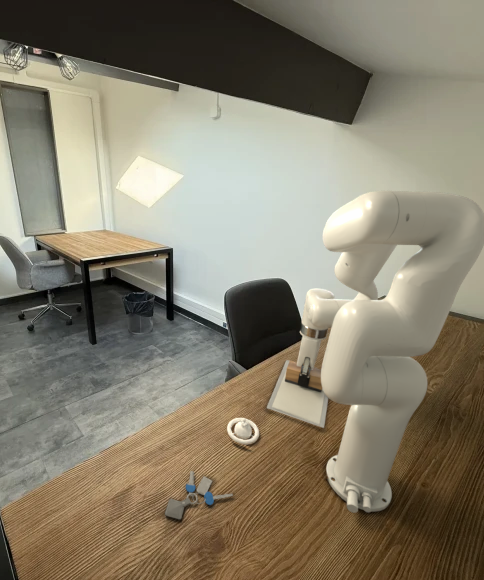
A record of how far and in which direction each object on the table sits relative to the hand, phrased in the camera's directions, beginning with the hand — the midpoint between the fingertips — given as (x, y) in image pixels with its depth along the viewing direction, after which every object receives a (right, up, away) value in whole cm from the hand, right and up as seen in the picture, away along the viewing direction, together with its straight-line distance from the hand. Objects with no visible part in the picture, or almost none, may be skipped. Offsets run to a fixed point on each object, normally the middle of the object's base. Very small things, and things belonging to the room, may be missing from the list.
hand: (304, 380), depth 96 cm
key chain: (-35, -13, -34) cm, 50 cm away
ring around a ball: (-23, -8, -19) cm, 31 cm away
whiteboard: (-2, -3, -2) cm, 4 cm away
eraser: (0, -1, 0) cm, 1 cm away
